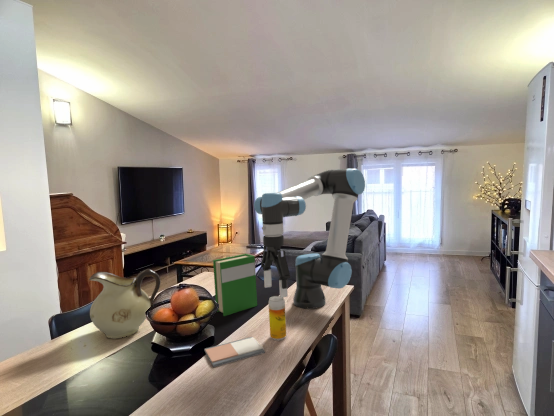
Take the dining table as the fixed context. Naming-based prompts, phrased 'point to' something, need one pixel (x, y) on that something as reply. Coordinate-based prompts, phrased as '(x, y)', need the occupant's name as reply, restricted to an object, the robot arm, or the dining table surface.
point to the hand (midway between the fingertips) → (275, 291)
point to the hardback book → (235, 283)
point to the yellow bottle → (277, 318)
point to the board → (233, 351)
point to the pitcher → (121, 303)
